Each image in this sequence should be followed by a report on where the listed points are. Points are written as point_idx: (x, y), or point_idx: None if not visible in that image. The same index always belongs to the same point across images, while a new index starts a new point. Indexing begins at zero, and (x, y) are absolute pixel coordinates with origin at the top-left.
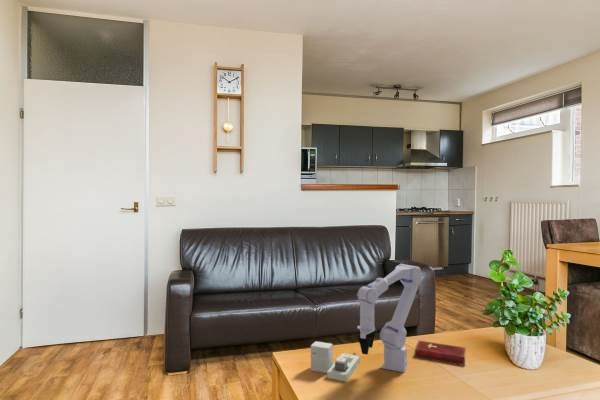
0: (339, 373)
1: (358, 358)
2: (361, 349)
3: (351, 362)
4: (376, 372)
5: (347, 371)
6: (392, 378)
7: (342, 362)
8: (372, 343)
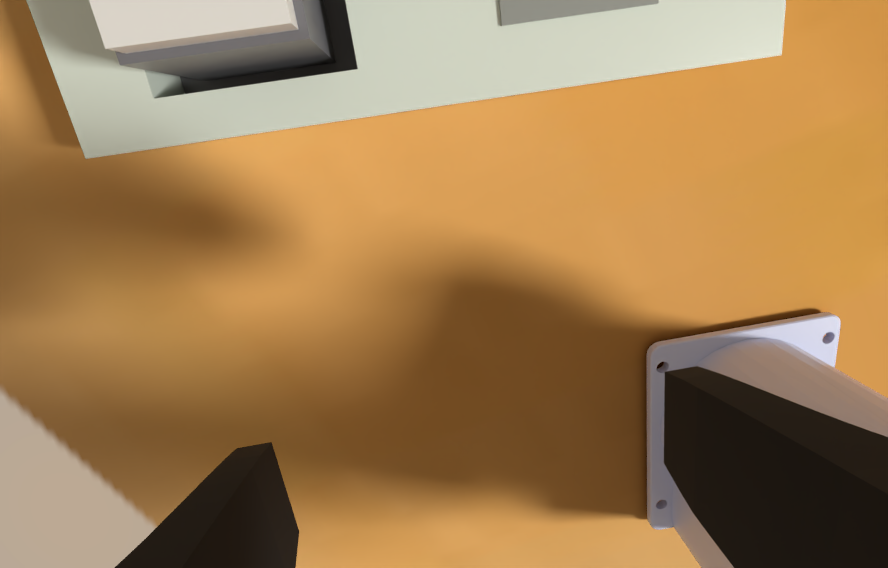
0: (55, 38)
1: (708, 65)
2: (173, 519)
3: (515, 37)
4: (539, 334)
5: (203, 118)
6: (492, 487)
7: (105, 11)
8: (724, 554)
